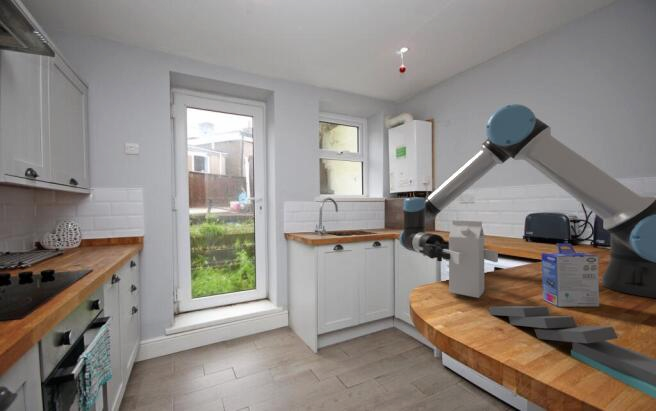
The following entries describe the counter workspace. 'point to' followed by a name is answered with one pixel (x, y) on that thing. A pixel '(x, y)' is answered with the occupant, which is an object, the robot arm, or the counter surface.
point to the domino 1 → (519, 311)
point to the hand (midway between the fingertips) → (478, 257)
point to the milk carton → (467, 258)
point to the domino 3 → (577, 334)
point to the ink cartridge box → (570, 278)
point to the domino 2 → (543, 321)
